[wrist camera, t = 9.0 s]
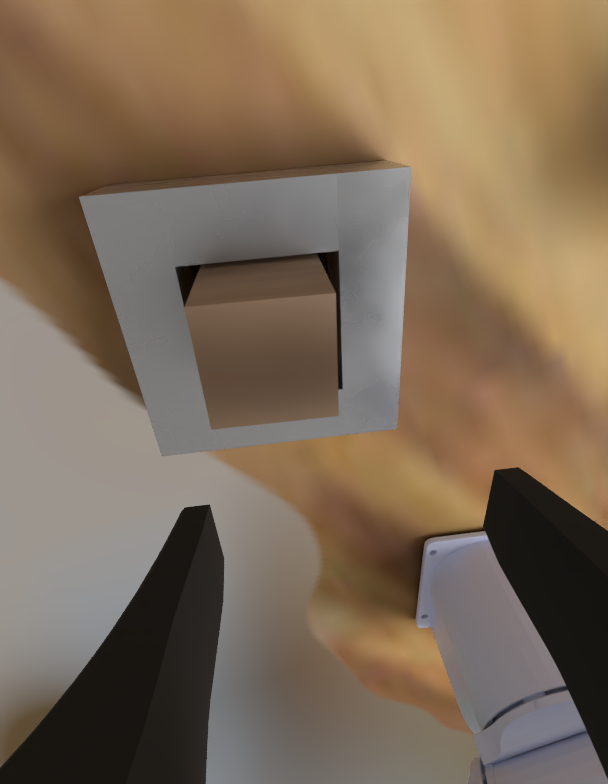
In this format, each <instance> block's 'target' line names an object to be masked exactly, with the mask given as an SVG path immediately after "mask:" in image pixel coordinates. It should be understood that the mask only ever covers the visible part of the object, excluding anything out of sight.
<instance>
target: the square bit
mask: <svg viewBox="0 0 608 784" xmlns="http://www.w3.org/2000/svg"><path fill="white" fill-rule="evenodd" d="M184 308H185V313H186V317H187V322H188V326H189V331H190V335H191V340H192V344H193V349H194V354H195V358H196V363H197V367H198V372H199V376H200V381H201V385H202V390H203V395H204V399H205V404H206V408H207V413H208V417H209V422H210V426H211V430H214V429H223V428H232V427H242V426H251V425H260V424H270V423H279V422H288V421H298V420H307V419H316V418H326V417H335V416H339V401H338V360H337V318H336V292H335V290H334V288H333V286H332V284H331V282H330V280H329V278H328V276H327V274H326V271H325V269H324V267H323V265H322V263H321V261H320V259H319V257H318V255H317V253H312V254H301V255H291V256H281V257H271V258H261V259H250V260H240V261H230V262H220V263H209V264H201V266H200V269H199V271H198V274H197V276H196V279H195V281H194V284H193V286H192V289H191V291H190V294H189V296H188V299H187V302H186V304H185V307H184Z"/></svg>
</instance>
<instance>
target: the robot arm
mask: <svg viewBox="0 0 608 784" xmlns="http://www.w3.org/2000/svg"><path fill="white" fill-rule="evenodd" d="M483 527H484V529H485V531H481V532H473V533H465V534H457V535H449V536H442V537H434V538H429V539H428V540H426V542H425V544H424V551H423V559H422V568H421V577H420V585H419V594H418V603H417V611H416V620H415V621H416V624H417V626H418V627H419V628H427V627H431V628H432V631H433V634H434V637H435V640H436V643H437V645H438V648H439V651H440V654H441V657H442V660H443V663H444V665H445V668H446V671H447V674H448V677H449V680H450V683H451V685H452V688H453V691H454V694H455V697H456V700H457V703H458V705H459V708H460V711H461V713H462V715H463V717H464V719H465V721H466V723H467V724H468V726H469V727H470V729H471V730H472V731H473V733H474V735H473V738H474V740H475V743H476V746H477V749H478V752H479V755H480V757H477V758H474V759H473V760H472V762H471V766H470V774H469V779H468V784H608V531H607V530H606V529H604V528H603V527H601V526H600V525H598V524H597V523H596V522H594V521H593V520H591V519H590V518H588V517H587V516H586V515H584V514H583V513H581V512H580V511H579V510H577V509H576V508H574V507H573V506H571V505H570V504H569V503H567V502H566V501H565V500H563V499H562V498H560V497H559V496H558V495H556V494H555V493H554V492H552V491H551V490H549V489H548V488H547V487H545V486H544V485H542V484H541V483H540V482H538V481H537V480H536V479H534V478H533V477H531V476H530V475H529V474H527V473H526V472H524V471H523V470H521V469H520V468H518V467H517V468H509V469H501V470H495V471H494V476H493V481H492V486H491V491H490V495H489V500H488V505H487V510H486V515H485V520H484V524H483ZM223 587H224V556H223V553H222V549H221V546H220V542H219V538H218V534H217V530H216V526H215V523H214V519H213V515H212V511H211V508H210V505H202V506H194V507H186V508H184V509H183V510H182V512H181V513H180V515H179V517H178V520H177V521H176V523H175V525H174V527H173V529H172V531H171V533H170V535H169V537H168V539H167V541H166V542H165V544H164V546H163V548H162V550H161V551H160V553H159V555H158V557H157V559H156V560H155V562H154V564H153V565H152V567H151V569H150V571H149V572H148V574H147V576H146V577H145V579H144V581H143V582H142V584H141V586H140V588H139V589H138V591H137V592H136V594H135V596H134V597H133V599H132V600H131V602H130V603H129V605H128V606H127V608H126V609H125V611H124V612H123V614H122V615H121V617H120V618H119V620H118V621H117V623H116V625H115V626H114V627H113V629H112V630H111V632H110V633H109V635H108V636H107V637H106V639H105V640H104V642H103V643H102V645H101V646H100V647H99V649H98V650H97V651H96V653H95V654H94V656H93V657H92V658H91V660H90V661H89V662H88V664H87V665H86V666H85V668H84V669H83V670H82V672H81V673H80V674H79V676H78V677H77V678H76V679H75V681H74V682H73V683H72V684H71V686H70V687H69V688H68V690H67V691H66V692H65V693H64V694H63V696H62V697H61V698H60V699H59V701H58V702H57V703H56V704H55V706H54V707H53V708H52V709H51V710H50V712H49V713H48V714H47V715H46V716H45V718H44V719H43V720H42V721H41V722H40V724H39V725H38V726H37V727H36V729H35V730H34V731H33V732H32V733H31V734H30V735H29V737H28V738H27V739H26V740H25V741H24V742H23V743H22V745H20V747H19V748H18V749H17V750H16V751H15V752H14V753H13V755H11V756H10V758H9V759H8V760H7V761H6V762H5V763H4V764H3V765H2V767H1V768H0V784H206V783H205V782H206V759H207V739H208V719H209V709H210V699H211V690H212V683H213V675H214V668H215V660H216V652H217V645H218V637H219V630H220V622H221V614H222V606H223V589H224V588H223Z"/></svg>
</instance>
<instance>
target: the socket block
mask: <svg viewBox="0 0 608 784" xmlns="http://www.w3.org/2000/svg"><path fill="white" fill-rule="evenodd" d="M410 181H411V167H410V166H406V165H403V164H399V163H395V162H391V161H387V160H382V161H371V162H360V163H349V164H337V165H326V166H315V167H304V168H293V169H281V170H270V171H259V172H248V173H237V174H225V175H214V176H203V177H192V178H181V179H170V180H158V181H147V182H136V183H125V184H114V185H107V186H104V187H102V188H99V189H97V190H94V191H92V192H89V193H87V194H84V195H82V196H79V199H80V202H81V205H82V209H83V212H84V215H85V218H86V221H87V224H88V227H89V230H90V233H91V237H92V240H93V243H94V246H95V249H96V252H97V255H98V258H99V262H100V265H101V268H102V271H103V274H104V277H105V280H106V283H107V286H108V290H109V293H110V296H111V299H112V302H113V305H114V308H115V311H116V314H117V318H118V321H119V324H120V327H121V330H122V333H123V336H124V339H125V343H126V346H127V349H128V352H129V355H130V358H131V361H132V364H133V367H134V371H135V374H136V377H137V380H138V383H139V386H140V389H141V392H142V396H143V399H144V402H145V405H146V408H147V411H148V414H149V417H150V420H151V423H152V427H153V429H154V432H155V436H156V439H157V442H158V445H159V448H160V452H161V455H162V456H168V455H177V454H186V453H194V452H203V451H211V450H220V449H228V448H237V447H246V446H254V445H263V444H271V443H280V442H289V441H297V440H306V439H314V438H323V437H331V436H340V435H349V434H357V433H366V432H374V431H383V430H391V429H397V424H398V405H399V387H400V368H401V349H402V331H403V312H404V293H405V275H406V256H407V237H408V219H409V200H410ZM322 252H327V260H328V278H329V280H330V282H331V284H332V286H333V288H334V290H335V292H336V318H337V360H338V401H339V416H335V417H326V418H316V419H307V420H298V421H288V422H279V423H270V424H260V425H251V426H242V427H232V428H223V429H214V430H211V426H210V422H209V417H208V413H207V408H206V404H205V399H204V395H203V390H202V385H201V381H200V376H199V372H198V367H197V363H196V358H195V354H194V349H193V344H192V340H191V335H190V331H189V326H188V322H187V317H186V313H185V308H184V307H185V304H186V302H187V299H188V296H189V294H190V291H191V289H192V286H193V284H194V281H195V280H194V275H193V270H192V265H199V264H209V263H220V262H230V261H240V260H250V259H261V258H271V257H281V256H291V255H301V254H312V253H322Z"/></svg>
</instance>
